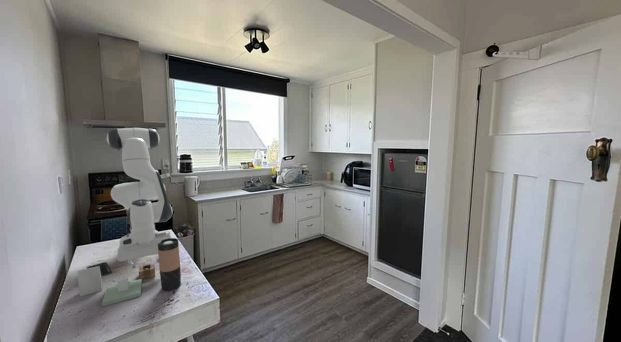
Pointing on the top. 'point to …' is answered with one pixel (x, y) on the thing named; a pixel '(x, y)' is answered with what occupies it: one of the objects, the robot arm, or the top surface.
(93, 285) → the white boxy piece
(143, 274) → the open wooden frame
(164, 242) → the travel mug
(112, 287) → the base
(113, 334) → the top surface
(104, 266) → the phone
